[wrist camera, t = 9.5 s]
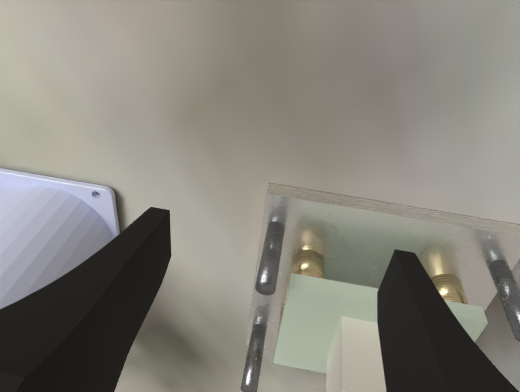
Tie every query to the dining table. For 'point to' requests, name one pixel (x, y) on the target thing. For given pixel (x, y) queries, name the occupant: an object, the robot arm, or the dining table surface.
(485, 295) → the plate
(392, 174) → the dining table surface
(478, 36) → the dining table surface
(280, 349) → the sage board
